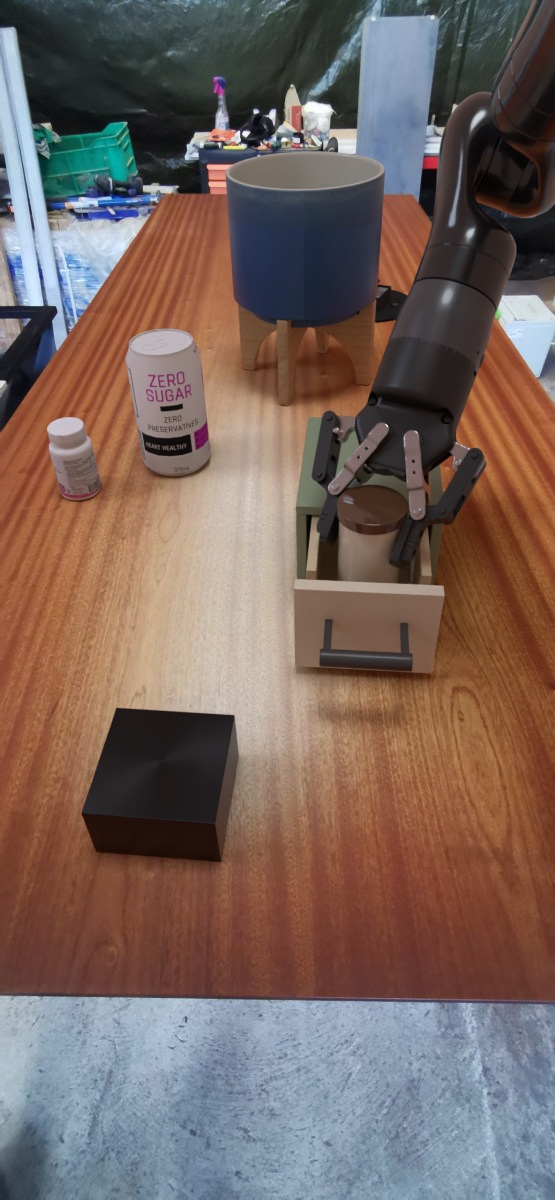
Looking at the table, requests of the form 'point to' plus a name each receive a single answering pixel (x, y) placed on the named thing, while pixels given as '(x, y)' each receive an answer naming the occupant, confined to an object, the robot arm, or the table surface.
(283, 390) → the planter
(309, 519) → the cabinet
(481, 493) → the table surface
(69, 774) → the table surface
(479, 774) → the table surface
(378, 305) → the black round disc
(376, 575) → the jar
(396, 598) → the drawer
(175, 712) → the stand
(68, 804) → the table surface
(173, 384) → the supplement can
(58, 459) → the pill bottle
